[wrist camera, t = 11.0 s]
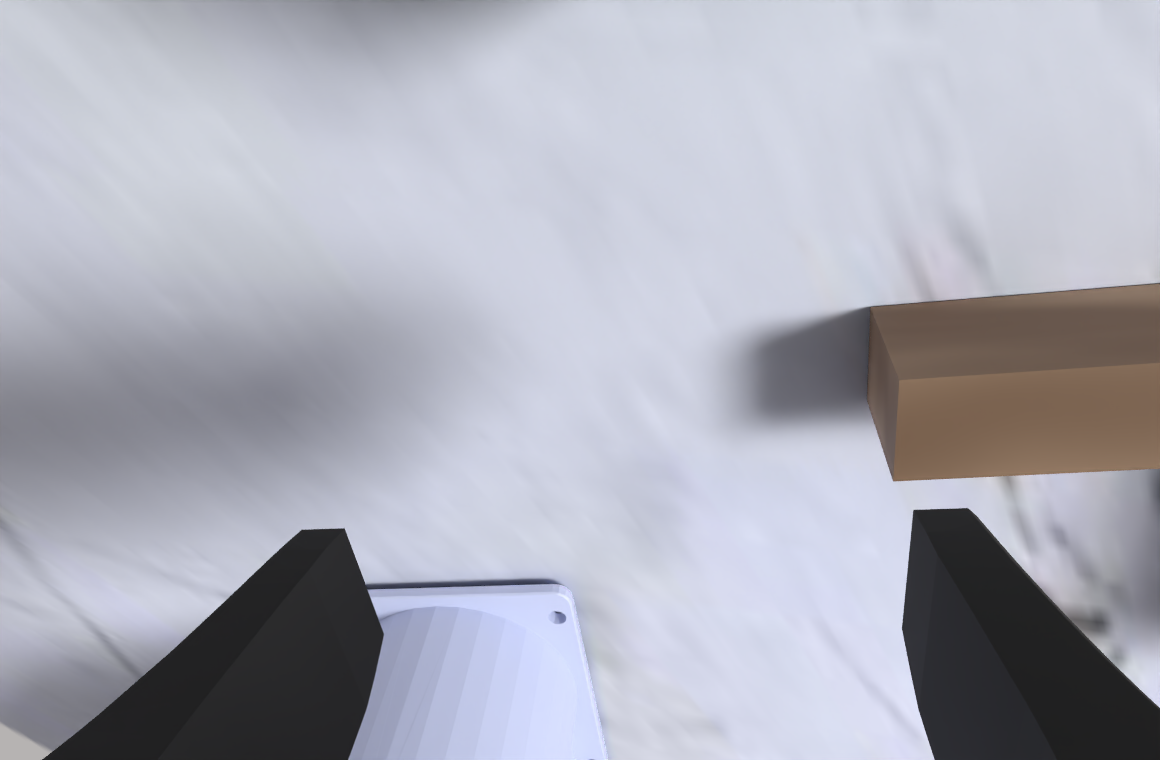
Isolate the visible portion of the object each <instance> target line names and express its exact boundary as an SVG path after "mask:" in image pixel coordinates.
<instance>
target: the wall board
mask: <svg viewBox="0 0 1160 760" xmlns="http://www.w3.org/2000/svg"><path fill="white" fill-rule="evenodd" d="M867 402H868V405H869V408H870V411H871V414H872V417H873V420H874V424H875V427H876V430H877V433H878V436H879V439H880V442H881V445H882V448H883V451H884V454H885V457H886V461H887V464H888V467H889V470H890V473H891V476H892V479H893V481H910V480H931V479H952V478H973V477H994V476H1015V475H1036V474H1057V473H1078V472H1099V471H1120V470H1141V469H1160V284H1150V285H1137V286H1125V287H1113V288H1100V289H1088V290H1076V291H1063V292H1051V293H1039V294H1026V295H1014V296H1002V297H989V298H977V299H964V300H952V301H940V302H927V303H915V304H903V305H890V306H878V307H870V331H869V359H868V386H867Z"/></svg>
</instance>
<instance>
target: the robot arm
mask: <svg viewBox="0 0 1160 760" xmlns="http://www.w3.org/2000/svg"><path fill="white" fill-rule="evenodd" d="M555 611H557V612H561V614H560V613H555ZM902 630H903V636H904V641H905V646H906V651H907V656H908V661H909V666H910V671H911V676H912V680H913V685H914V690H915V695H916V699H917V704H918V709H919V712H920V715H921V718H922V722H923V725H924V728H925V731H926V734H927V737H928V740H929V743H930V746H931V750H932V753H933V756H934V759H935V760H1160V708H1159V707H1158V706H1157V705H1156V704H1155V703H1154V702H1153V701H1152V700H1151V699H1149V698H1148V697H1147V696H1146V695H1145V694H1144V693H1143V692H1142V691H1141V690H1140V689H1139V688H1138V687H1137V686H1136V685H1135V684H1134V683H1133V682H1132V681H1131V680H1129V679H1128V678H1127V677H1126V676H1125V675H1124V674H1123V673H1122V672H1121V671H1120V670H1119V669H1118V668H1117V667H1116V666H1115V665H1114V664H1113V663H1112V662H1111V661H1110V660H1109V659H1108V658H1107V657H1106V656H1105V655H1104V654H1103V653H1102V652H1101V651H1100V650H1099V649H1098V648H1097V647H1096V646H1095V645H1094V644H1093V643H1092V642H1091V641H1090V640H1089V639H1088V638H1087V637H1086V636H1085V635H1084V634H1083V633H1082V631H1081V630H1080V629H1079V628H1078V627H1077V626H1076V625H1075V624H1074V623H1073V622H1072V621H1071V620H1070V619H1069V618H1068V617H1067V616H1066V615H1065V614H1064V613H1063V612H1062V611H1061V610H1060V609H1059V608H1058V607H1057V606H1056V605H1055V603H1054V602H1053V601H1052V600H1051V599H1050V598H1049V597H1048V596H1047V595H1046V594H1045V593H1044V592H1043V591H1042V589H1041V588H1040V587H1039V586H1038V585H1037V584H1036V583H1035V582H1034V581H1033V580H1032V578H1031V577H1030V576H1029V575H1028V574H1027V573H1026V572H1025V571H1024V570H1023V569H1022V567H1021V566H1020V565H1019V564H1018V563H1017V562H1016V561H1015V560H1014V558H1013V557H1012V556H1011V555H1010V554H1009V553H1008V552H1007V550H1006V549H1005V548H1004V547H1003V546H1002V545H1001V544H1000V542H999V541H998V540H997V539H996V538H995V537H994V536H993V534H992V533H991V532H990V531H989V530H988V529H987V527H986V526H985V525H984V524H983V523H982V522H981V520H980V519H979V518H978V517H977V516H976V515H975V514H974V513H973V512H972V511H970V510H969V509H968V508H961V509H930V510H914V511H913V521H912V531H911V542H910V552H909V562H908V573H907V583H906V593H905V604H904V614H903V625H902ZM42 760H608V756H607V751H606V746H605V742H604V737H603V732H602V728H601V723H600V719H599V714H598V709H597V705H596V700H595V695H594V691H593V686H592V682H591V677H590V672H589V668H588V663H587V658H586V654H585V649H584V645H583V640H582V635H581V631H580V626H579V621H578V617H577V612H576V608H575V603H574V598H573V595H572V593H571V591H570V590H569V589H567V588H566V587H564V586H562V585H558V584H537V585H504V586H471V587H438V588H405V589H372V590H367V587H366V585H365V582H364V579H363V577H362V574H361V571H360V569H359V566H358V563H357V561H356V558H355V555H354V553H353V550H352V547H351V545H350V542H349V539H348V537H347V534H346V531H345V529H314V530H301V531H300V532H299V533H298V534H297V535H295V536H294V537H293V538H292V539H291V540H290V541H289V542H287V543H286V544H285V545H284V546H283V547H282V548H281V549H280V550H279V551H278V552H277V553H275V554H274V555H273V556H272V557H271V558H270V559H269V560H268V561H267V562H266V563H265V564H264V565H263V566H262V567H261V568H260V569H259V570H257V571H256V572H255V573H254V574H253V575H252V576H251V577H250V578H249V579H248V580H247V581H246V582H245V583H244V584H243V585H242V586H241V587H240V588H239V589H238V590H237V591H235V592H234V593H233V594H232V595H231V596H230V597H229V598H228V599H227V600H226V601H225V602H224V603H223V604H222V605H221V606H220V607H219V608H217V609H216V610H215V611H214V612H213V613H212V614H211V615H210V616H209V617H208V618H207V619H206V620H205V621H204V622H203V623H201V624H200V625H199V626H198V627H197V628H196V629H195V630H194V631H193V632H192V633H191V634H190V635H189V636H188V637H186V638H185V639H184V640H183V641H182V642H181V643H180V644H179V645H178V646H177V647H176V648H175V649H174V650H172V651H171V652H170V653H169V654H168V655H167V656H166V657H165V658H163V659H162V660H161V661H160V662H159V663H158V664H156V665H155V666H154V667H153V668H152V669H151V670H150V671H148V672H147V673H146V674H145V675H144V676H143V677H142V678H140V679H139V680H138V681H137V682H136V683H135V684H134V685H132V686H131V687H130V688H129V689H128V690H127V691H125V692H124V693H123V694H122V695H121V696H120V697H119V698H117V699H116V700H115V701H114V702H113V703H112V704H111V705H109V706H108V707H107V708H106V709H105V710H104V711H102V712H101V713H100V714H99V715H98V716H97V717H95V718H94V719H93V720H92V721H90V722H89V723H88V724H87V725H86V726H84V727H83V728H82V729H81V730H79V731H78V732H77V733H76V734H74V735H73V736H72V737H71V738H69V739H68V740H67V741H66V742H64V743H63V744H62V745H61V746H59V747H58V748H57V749H56V750H54V751H53V752H52V753H50V754H49V755H48V756H46V757H45V758H44V759H42Z"/></svg>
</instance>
